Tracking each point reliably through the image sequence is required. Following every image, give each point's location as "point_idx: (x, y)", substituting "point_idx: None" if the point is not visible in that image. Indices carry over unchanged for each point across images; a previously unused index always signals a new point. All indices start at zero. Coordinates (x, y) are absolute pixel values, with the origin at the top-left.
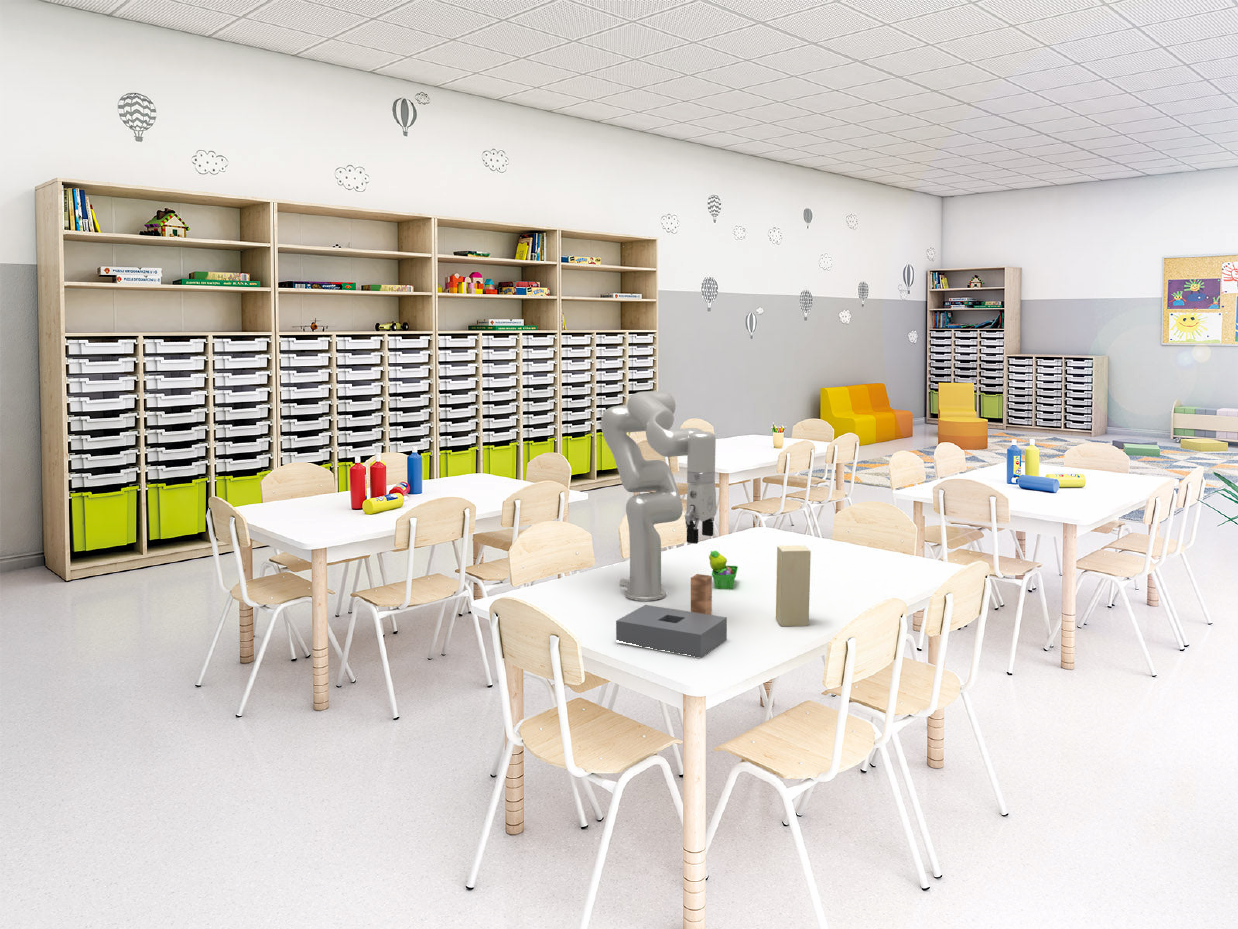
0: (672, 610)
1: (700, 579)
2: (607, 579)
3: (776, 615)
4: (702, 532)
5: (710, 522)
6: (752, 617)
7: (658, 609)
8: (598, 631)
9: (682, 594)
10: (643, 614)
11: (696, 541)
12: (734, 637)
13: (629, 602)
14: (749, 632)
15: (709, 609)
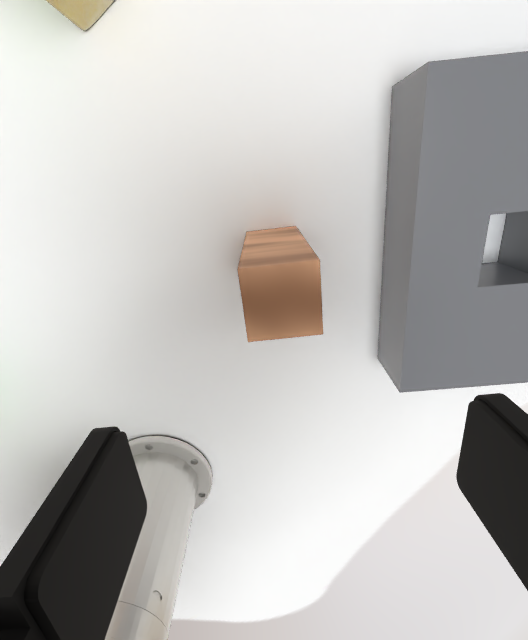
0: (423, 297)
1: (320, 285)
2: None
3: (86, 13)
4: (141, 527)
5: (32, 614)
6: (126, 132)
7: (431, 338)
8: (460, 419)
9: (86, 418)
10: (500, 348)
11: (513, 411)
12: (357, 73)
13: (229, 474)
14: (280, 50)
15: (265, 236)
